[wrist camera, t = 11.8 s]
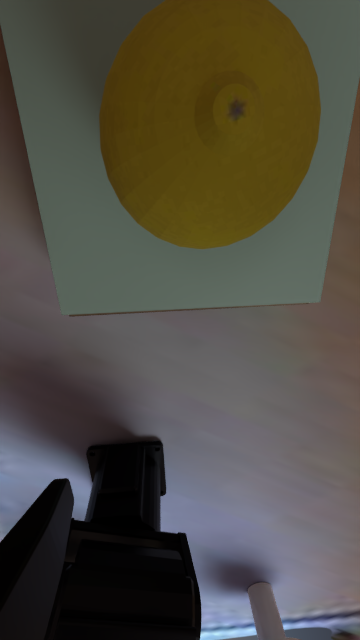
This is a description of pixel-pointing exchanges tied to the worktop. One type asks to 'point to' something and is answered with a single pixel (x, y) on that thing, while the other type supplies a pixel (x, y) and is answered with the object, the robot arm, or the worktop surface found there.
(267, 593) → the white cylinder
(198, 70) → the lemon
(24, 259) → the worktop surface
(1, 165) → the worktop surface
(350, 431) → the worktop surface
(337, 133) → the lid
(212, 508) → the worktop surface
